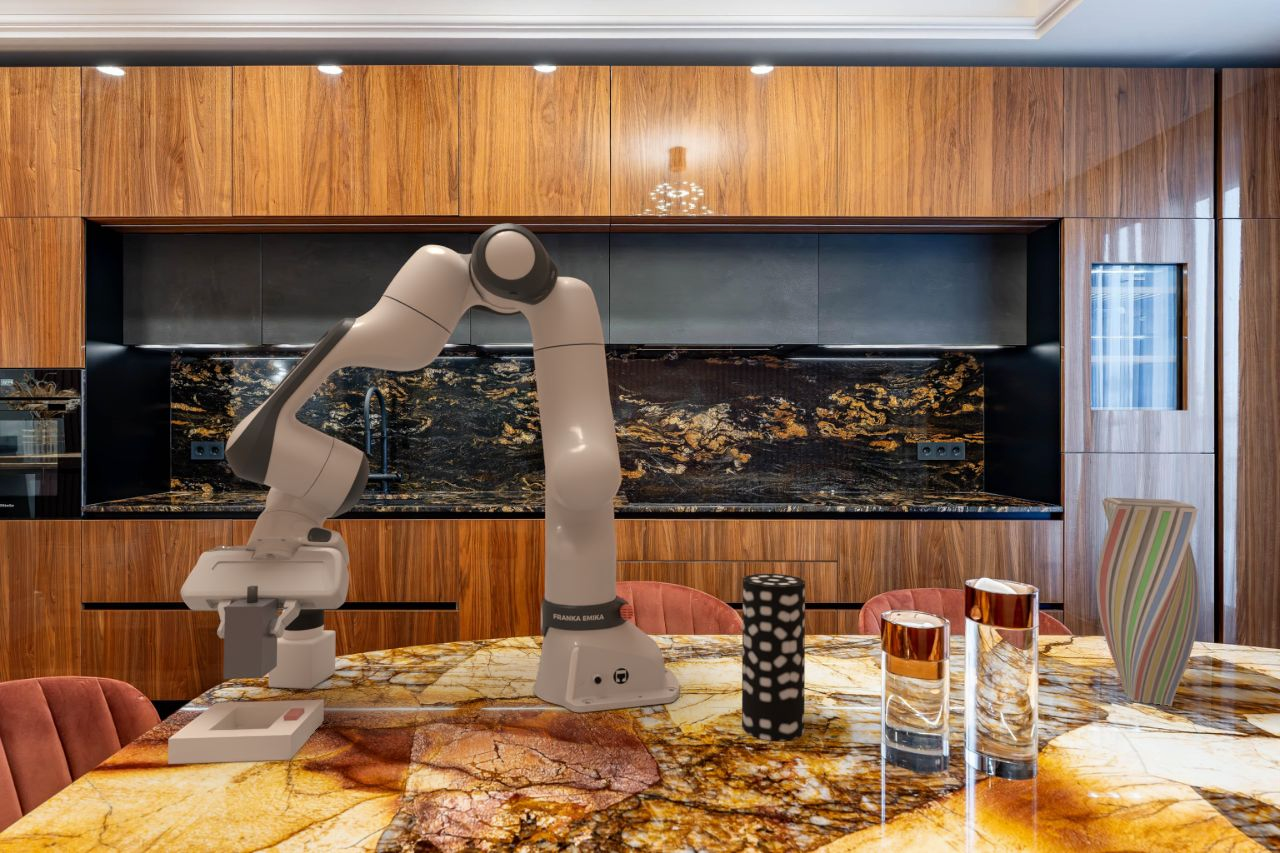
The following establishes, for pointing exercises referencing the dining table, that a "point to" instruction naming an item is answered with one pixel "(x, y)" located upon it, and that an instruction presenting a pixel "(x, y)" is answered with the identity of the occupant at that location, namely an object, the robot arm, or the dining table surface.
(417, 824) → the dining table surface
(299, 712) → the socket
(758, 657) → the white-spotted black cylinder
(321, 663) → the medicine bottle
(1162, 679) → the vase
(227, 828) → the dining table surface
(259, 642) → the plug
